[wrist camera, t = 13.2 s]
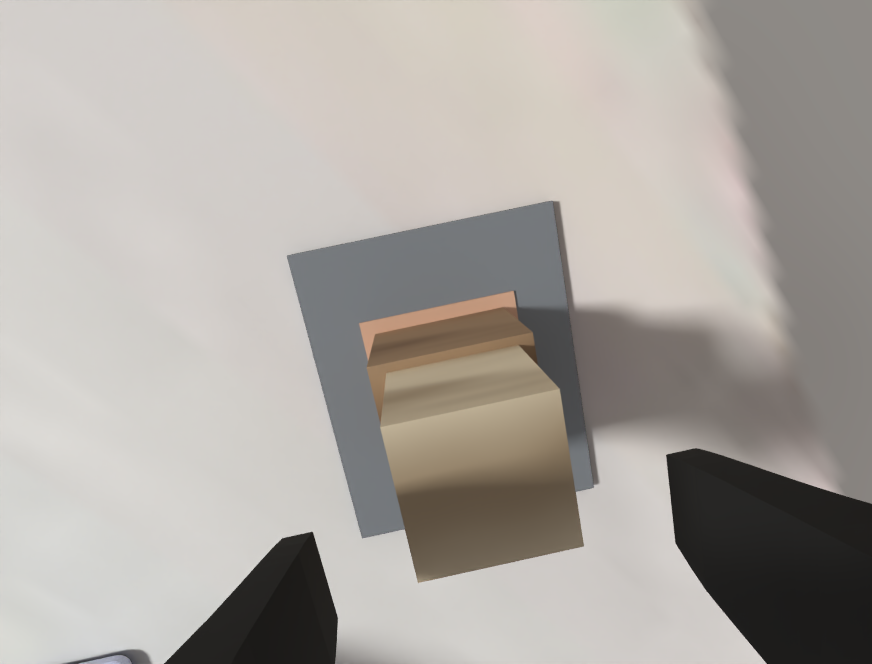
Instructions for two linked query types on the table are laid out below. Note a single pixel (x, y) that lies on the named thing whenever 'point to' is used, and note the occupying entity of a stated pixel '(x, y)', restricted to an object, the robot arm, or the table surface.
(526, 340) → the walnut block
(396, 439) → the beech block
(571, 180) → the table surface
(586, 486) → the grey flat slab
